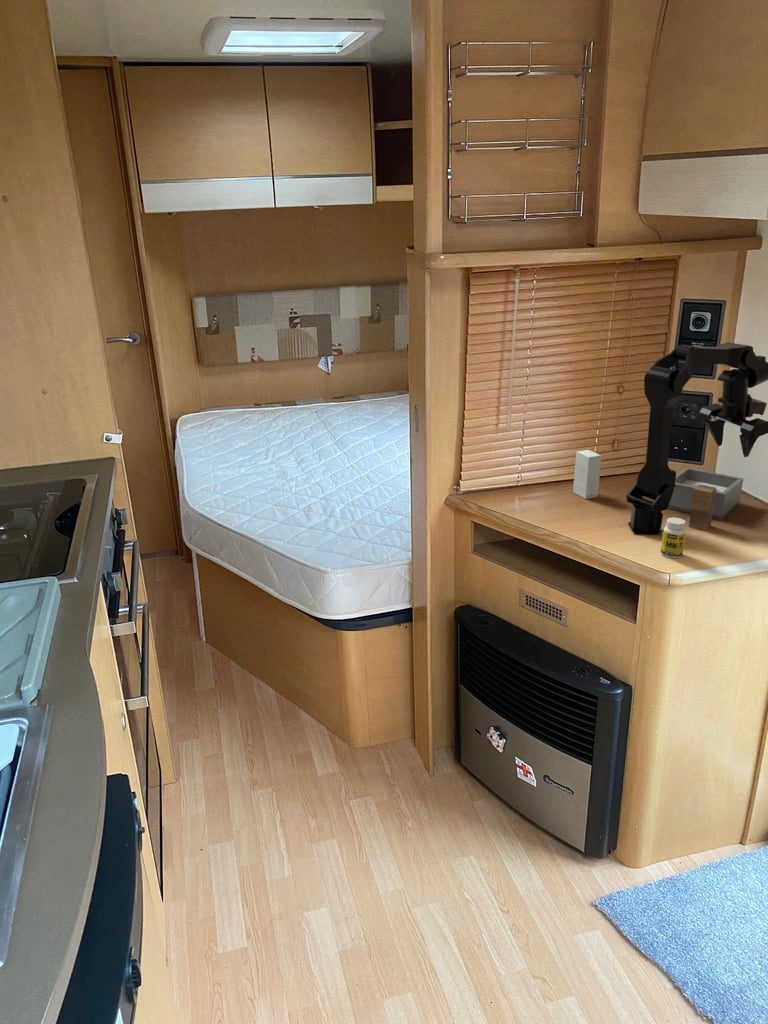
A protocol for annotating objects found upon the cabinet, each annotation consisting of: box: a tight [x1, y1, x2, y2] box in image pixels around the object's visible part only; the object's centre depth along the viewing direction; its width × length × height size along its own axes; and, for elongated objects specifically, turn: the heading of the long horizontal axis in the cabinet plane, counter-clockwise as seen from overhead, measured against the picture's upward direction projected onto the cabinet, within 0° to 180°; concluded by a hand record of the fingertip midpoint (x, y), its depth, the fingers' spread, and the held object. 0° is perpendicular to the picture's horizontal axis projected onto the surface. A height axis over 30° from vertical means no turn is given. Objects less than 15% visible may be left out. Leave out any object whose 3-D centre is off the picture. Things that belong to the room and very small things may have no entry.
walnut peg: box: [688, 485, 716, 531], centre depth 191 cm, size 4×4×10 cm
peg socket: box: [667, 467, 744, 521], centre depth 204 cm, size 15×15×7 cm
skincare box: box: [572, 449, 602, 500], centre depth 212 cm, size 6×4×12 cm
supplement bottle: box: [660, 517, 687, 559], centre depth 176 cm, size 5×5×8 cm
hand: (732, 451), depth 200 cm, fingers open, 9 cm apart
